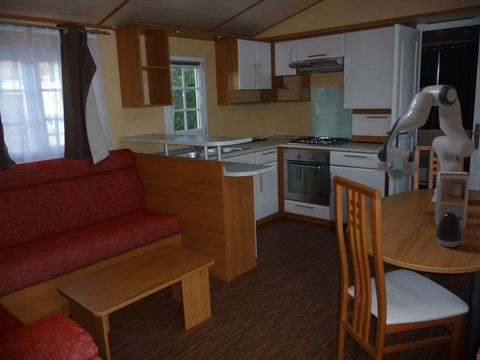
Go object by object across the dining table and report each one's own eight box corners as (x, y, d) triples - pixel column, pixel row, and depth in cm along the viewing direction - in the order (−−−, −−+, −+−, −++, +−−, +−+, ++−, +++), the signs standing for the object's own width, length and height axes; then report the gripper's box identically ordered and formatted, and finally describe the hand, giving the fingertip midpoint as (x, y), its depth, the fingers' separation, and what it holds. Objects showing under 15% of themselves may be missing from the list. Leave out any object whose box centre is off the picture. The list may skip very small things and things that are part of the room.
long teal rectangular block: (401, 166, 208) (401, 157, 207) (402, 178, 192) (402, 169, 190) (393, 166, 210) (393, 157, 208) (392, 178, 193) (393, 168, 191)
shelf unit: (434, 220, 214) (438, 169, 209) (462, 222, 210) (467, 170, 204) (436, 225, 206) (439, 173, 200) (465, 227, 202) (470, 173, 196)
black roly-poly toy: (451, 251, 175) (453, 217, 172) (430, 243, 184) (432, 211, 181) (466, 246, 179) (469, 213, 176) (445, 239, 188) (447, 207, 185)
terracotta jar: (449, 197, 207) (451, 182, 206) (461, 198, 206) (462, 182, 204) (451, 200, 203) (452, 184, 201) (462, 201, 201) (463, 185, 199)
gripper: (376, 163, 222) (375, 157, 209) (417, 163, 215) (419, 157, 202) (376, 174, 220) (375, 169, 208) (417, 175, 213) (419, 170, 201)
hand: (397, 163), depth 205 cm, fingers closed on long teal rectangular block, 4 cm apart
